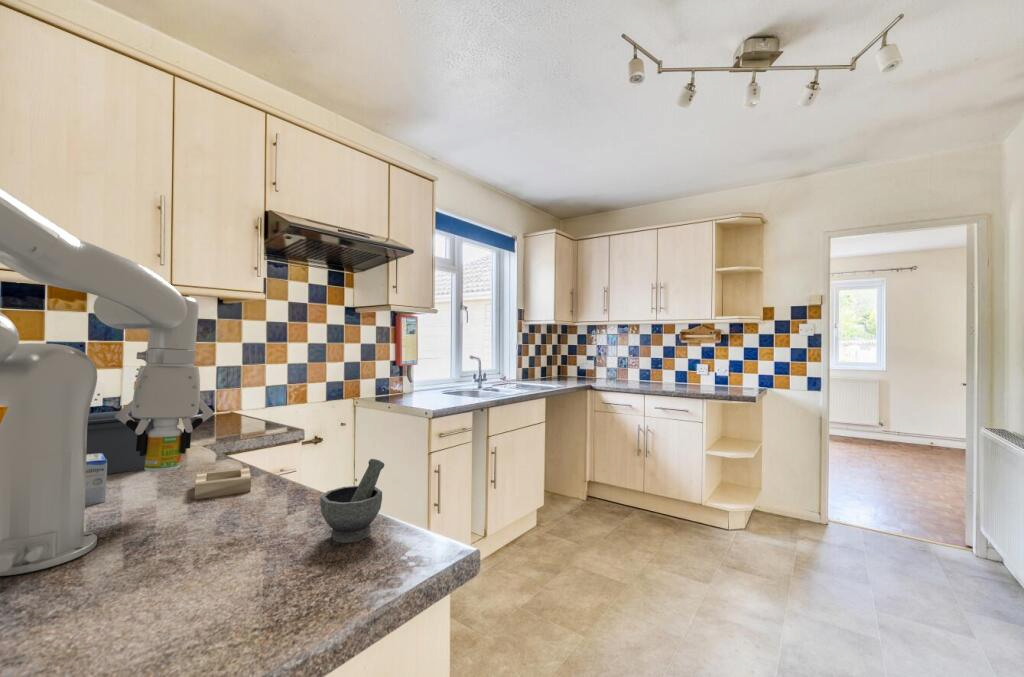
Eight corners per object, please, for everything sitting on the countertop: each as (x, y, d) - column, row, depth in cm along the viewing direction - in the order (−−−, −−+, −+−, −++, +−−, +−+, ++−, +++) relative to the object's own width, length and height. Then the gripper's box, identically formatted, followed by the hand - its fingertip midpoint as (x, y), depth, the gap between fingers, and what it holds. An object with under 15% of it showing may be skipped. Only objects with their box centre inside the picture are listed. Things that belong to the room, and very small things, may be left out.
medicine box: (72, 498, 93) (73, 455, 93) (101, 493, 96) (103, 452, 96) (75, 507, 87) (76, 462, 88) (106, 502, 91) (107, 458, 91)
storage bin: (60, 486, 101) (62, 421, 101) (51, 473, 110) (53, 414, 111) (176, 467, 117) (177, 411, 117) (159, 457, 127) (161, 406, 127)
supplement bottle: (160, 473, 83) (164, 419, 84) (136, 471, 84) (140, 418, 85) (186, 467, 88) (190, 417, 89) (164, 465, 89) (168, 415, 90)
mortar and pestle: (342, 553, 70) (343, 474, 70) (308, 537, 75) (309, 465, 75) (398, 529, 79) (400, 460, 79) (365, 517, 84) (366, 453, 85)
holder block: (250, 491, 98) (251, 477, 98) (194, 499, 93) (194, 484, 93) (248, 479, 107) (249, 467, 107) (197, 486, 101) (197, 472, 101)
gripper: (108, 357, 80) (99, 461, 79) (223, 360, 89) (216, 453, 88) (117, 357, 86) (108, 454, 85) (223, 360, 95) (217, 447, 94)
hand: (163, 452), depth 86 cm, fingers closed on supplement bottle, 5 cm apart
